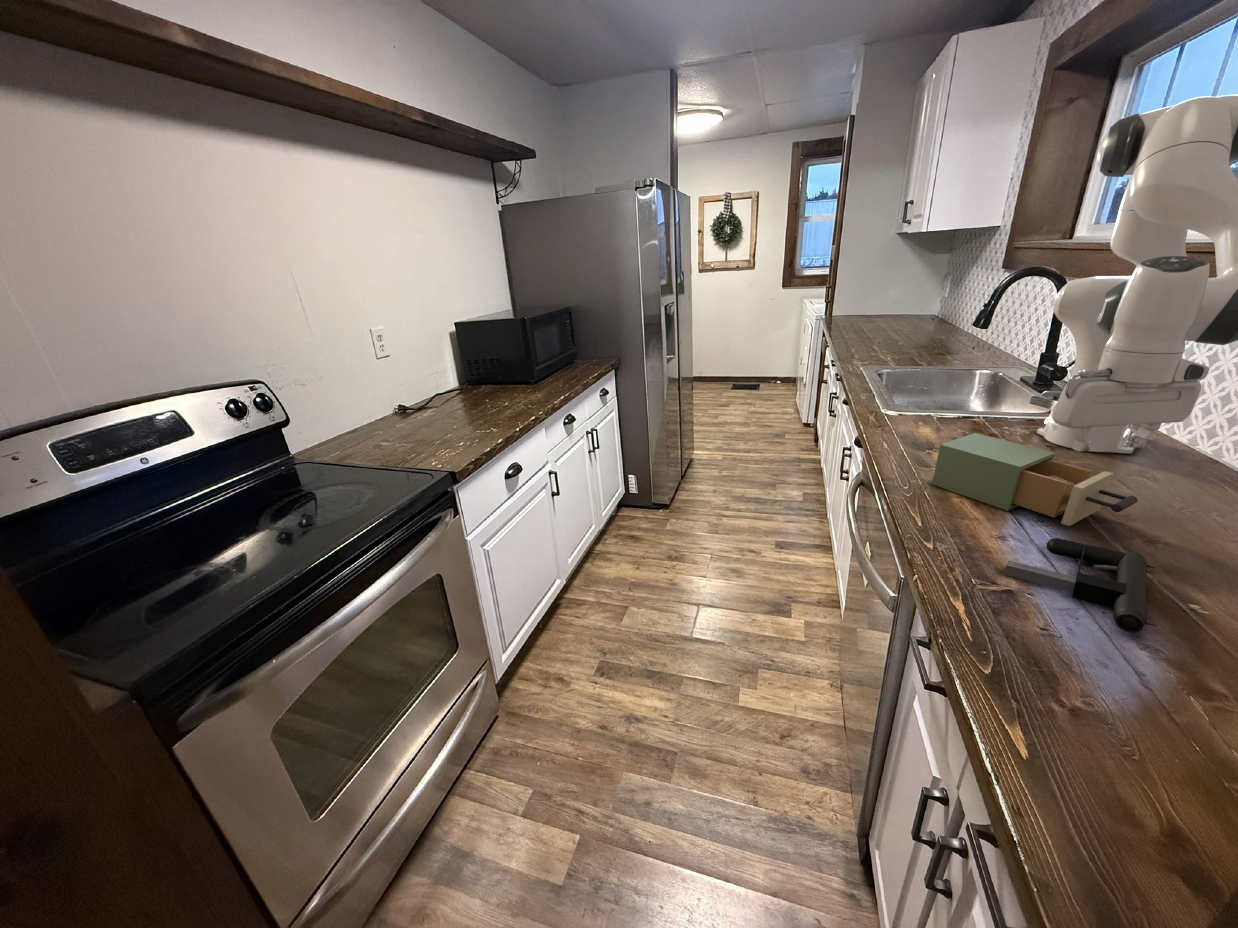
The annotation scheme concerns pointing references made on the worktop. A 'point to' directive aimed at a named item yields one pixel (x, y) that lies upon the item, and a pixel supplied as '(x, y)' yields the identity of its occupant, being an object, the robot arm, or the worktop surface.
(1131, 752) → the worktop surface
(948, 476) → the cabinet
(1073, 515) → the drawer
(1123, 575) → the door handle
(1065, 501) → the block
